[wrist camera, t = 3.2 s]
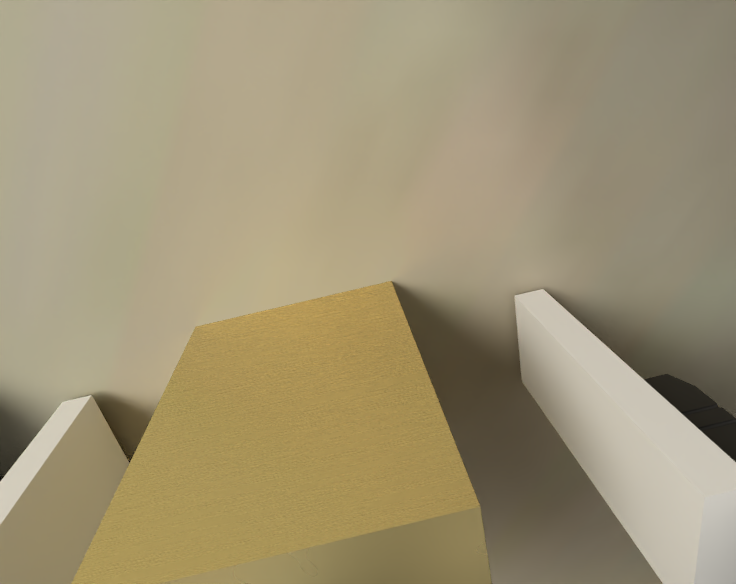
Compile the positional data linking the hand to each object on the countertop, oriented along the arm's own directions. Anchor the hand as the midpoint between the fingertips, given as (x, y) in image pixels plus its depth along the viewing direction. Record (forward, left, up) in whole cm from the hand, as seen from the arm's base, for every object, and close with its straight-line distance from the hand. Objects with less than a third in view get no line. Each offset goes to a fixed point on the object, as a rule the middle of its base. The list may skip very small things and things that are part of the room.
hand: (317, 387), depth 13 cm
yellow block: (0, 0, 0) cm, 0 cm away
